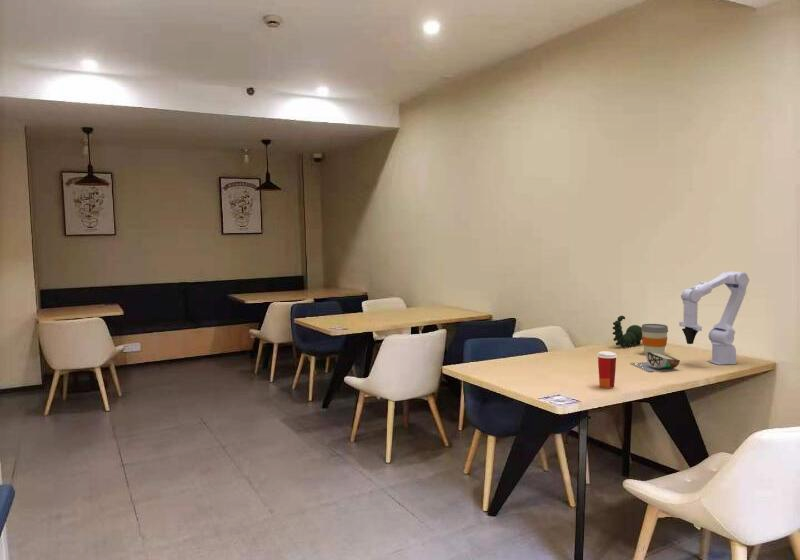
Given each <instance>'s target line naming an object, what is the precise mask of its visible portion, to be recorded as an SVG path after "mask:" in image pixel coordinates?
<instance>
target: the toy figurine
mask: <svg viewBox="0 0 800 560" xmlns="http://www.w3.org/2000/svg"><path fill="white" fill-rule="evenodd" d="M623 320H626V316H625V315H620V316H618V317H617V319H616V320H615V321H613V322H612V324H613V327H612V330H614V331H613V332H612V335H615V336H614V337H613V341H614V342H615V345H616V346H618V347H619V346H620V347H627V348H629V347H630V348H631V347H632V346H634V347H635V346H637V345H636V344H638V345H640V344H641V343H642V331H641V328H642V326H640V325H638V324H632V325H630V326H628V327H627V329H626V331H625V333H624V331H623V330H622V329H623V326H622V323H621V322H622V321H623Z"/></svg>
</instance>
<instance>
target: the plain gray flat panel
mask: <svg viewBox="0 0 800 560" xmlns="http://www.w3.org/2000/svg"><path fill="white" fill-rule="evenodd" d="M630 363H631V364H630V365H632V364H633V365H632V366H634V365H635V363H636V362H630ZM637 363H638V364H637V365H638V366H637V365H636V366H637V367H636V366H635V367H636V368H638V367H640V368H642V367H643V368H642V369H641V370H643V369H644V370H643V371H645V370H646V371H645V372H647V371H648V372H647V373H653V372H652V371H662V372H676V371H677V370H676V369H675V368H660V369H656V368H653V367H652V366H650V365H649V364H648V362H647V361H646V362H645V361H642V362H637ZM641 364H642V365H641ZM640 365H641V366H640ZM640 368H639V369H640Z"/></svg>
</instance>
